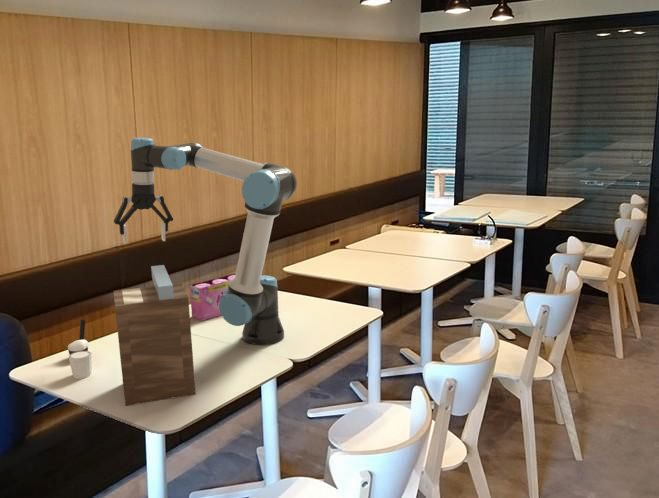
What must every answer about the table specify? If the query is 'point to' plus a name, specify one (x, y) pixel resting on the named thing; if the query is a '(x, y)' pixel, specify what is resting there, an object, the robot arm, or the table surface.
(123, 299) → the shelf
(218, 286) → the gum box
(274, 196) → the robot arm
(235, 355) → the table surface
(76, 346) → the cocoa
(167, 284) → the rod
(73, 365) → the shot glass
